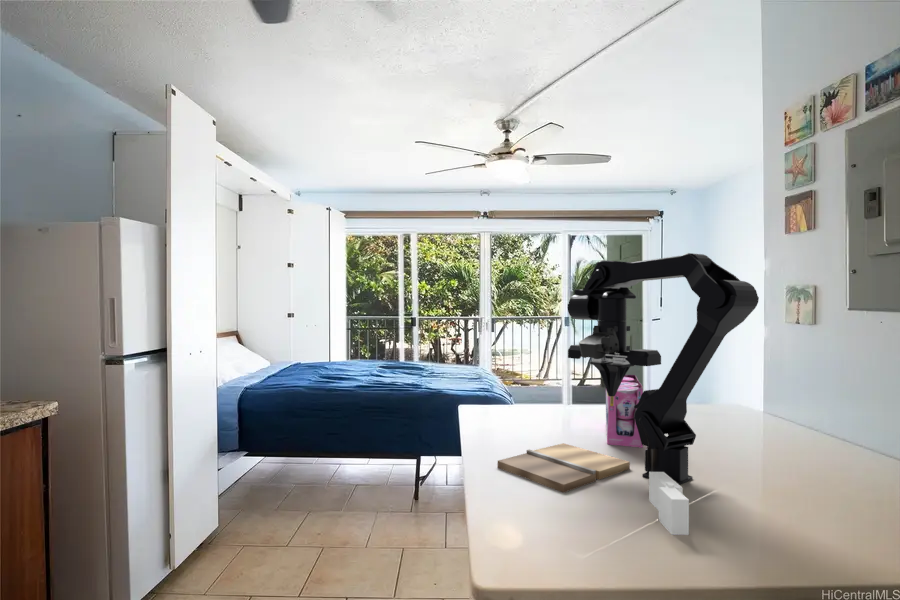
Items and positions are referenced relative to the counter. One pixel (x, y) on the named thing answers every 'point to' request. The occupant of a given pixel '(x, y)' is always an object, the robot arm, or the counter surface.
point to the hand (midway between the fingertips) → (611, 396)
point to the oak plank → (587, 459)
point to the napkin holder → (669, 503)
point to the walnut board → (548, 470)
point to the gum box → (623, 413)
